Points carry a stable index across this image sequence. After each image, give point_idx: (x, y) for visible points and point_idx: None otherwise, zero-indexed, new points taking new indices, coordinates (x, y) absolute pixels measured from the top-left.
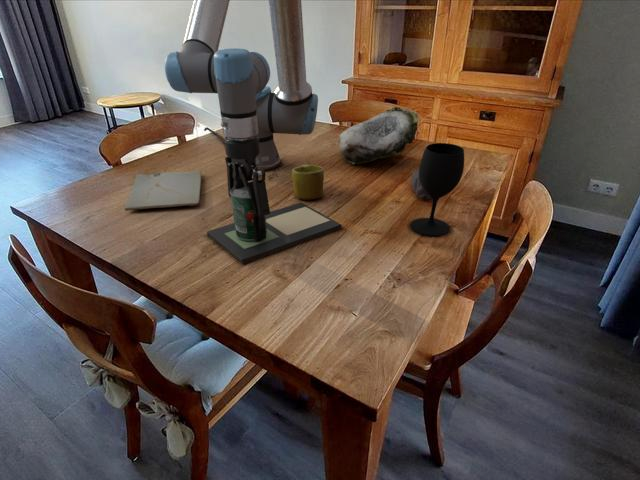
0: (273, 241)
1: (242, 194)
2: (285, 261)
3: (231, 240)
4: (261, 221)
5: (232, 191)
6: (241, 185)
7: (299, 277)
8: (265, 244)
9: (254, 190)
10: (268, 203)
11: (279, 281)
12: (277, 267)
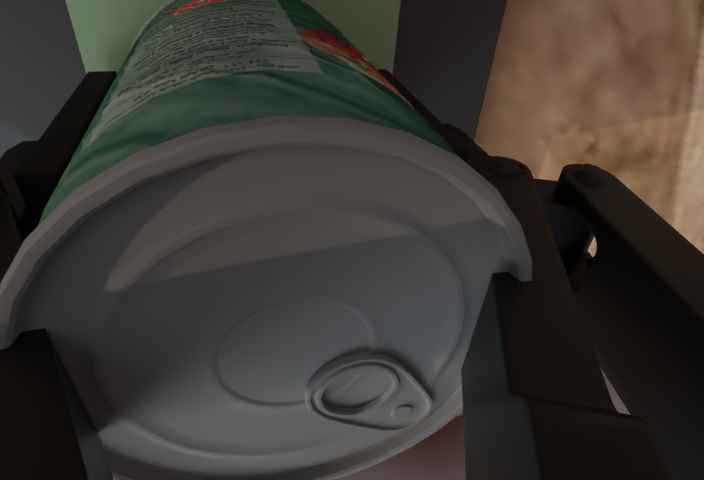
0: (423, 29)
1: (351, 415)
2: (576, 73)
3: None
4: None
5: (170, 467)
6: (77, 409)
7: (698, 102)
8: (417, 98)
9: (669, 464)
10: (669, 225)
11: (636, 183)
12: (574, 137)
